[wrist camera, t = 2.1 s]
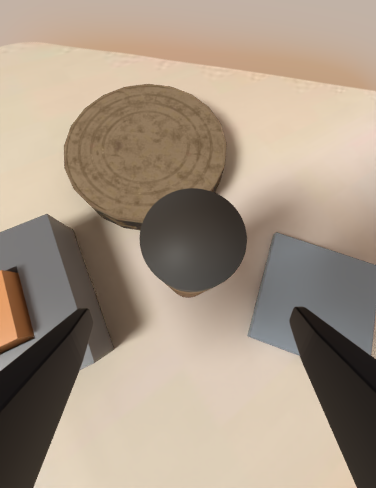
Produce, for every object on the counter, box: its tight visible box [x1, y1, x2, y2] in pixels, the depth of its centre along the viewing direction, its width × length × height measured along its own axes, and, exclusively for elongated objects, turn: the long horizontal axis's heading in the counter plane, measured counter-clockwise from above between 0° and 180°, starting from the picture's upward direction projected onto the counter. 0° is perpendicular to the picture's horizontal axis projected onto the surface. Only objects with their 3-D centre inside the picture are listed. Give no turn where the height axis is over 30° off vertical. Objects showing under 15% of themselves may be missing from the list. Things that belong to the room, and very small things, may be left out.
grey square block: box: [0, 214, 114, 371], centre depth 17 cm, size 12×12×4 cm
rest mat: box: [248, 232, 376, 356], centre depth 19 cm, size 10×10×1 cm
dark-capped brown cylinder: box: [140, 188, 247, 298], centre depth 13 cm, size 4×4×13 cm
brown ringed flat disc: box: [64, 84, 227, 230], centre depth 22 cm, size 16×16×3 cm
